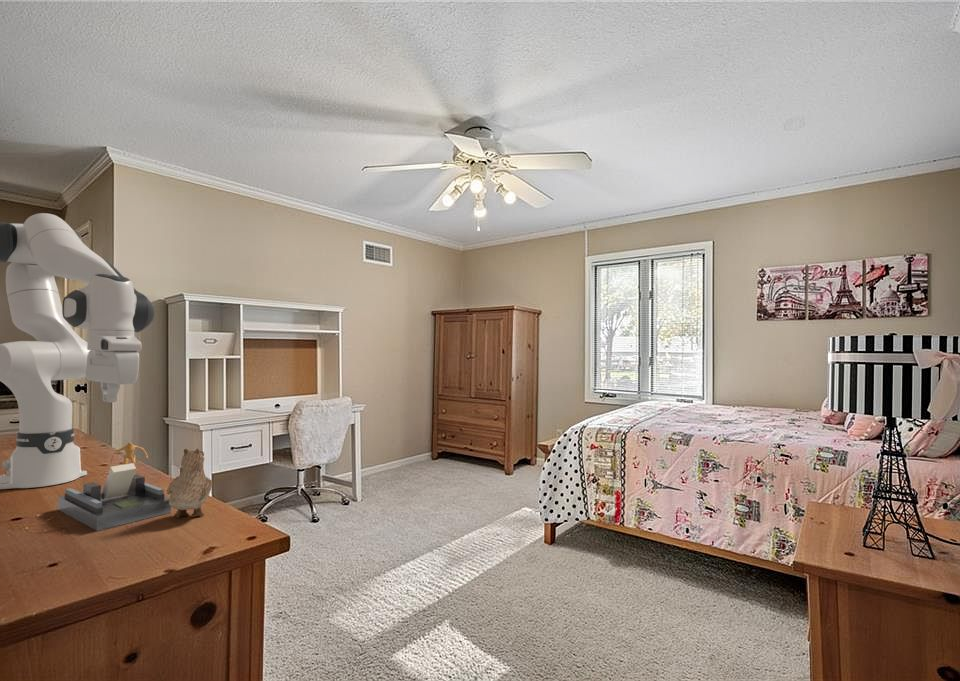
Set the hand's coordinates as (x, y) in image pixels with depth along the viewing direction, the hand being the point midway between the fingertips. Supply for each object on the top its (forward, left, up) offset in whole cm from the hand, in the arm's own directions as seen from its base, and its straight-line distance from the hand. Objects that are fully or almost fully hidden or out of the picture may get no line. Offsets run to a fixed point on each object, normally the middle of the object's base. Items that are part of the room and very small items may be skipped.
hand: (109, 401), depth 115 cm
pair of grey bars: (+4, 0, -22) cm, 22 cm away
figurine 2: (+22, +8, -25) cm, 34 cm away
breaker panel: (+4, 0, -25) cm, 25 cm away
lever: (+4, 0, -21) cm, 21 cm away
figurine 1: (-15, +10, -25) cm, 31 cm away
